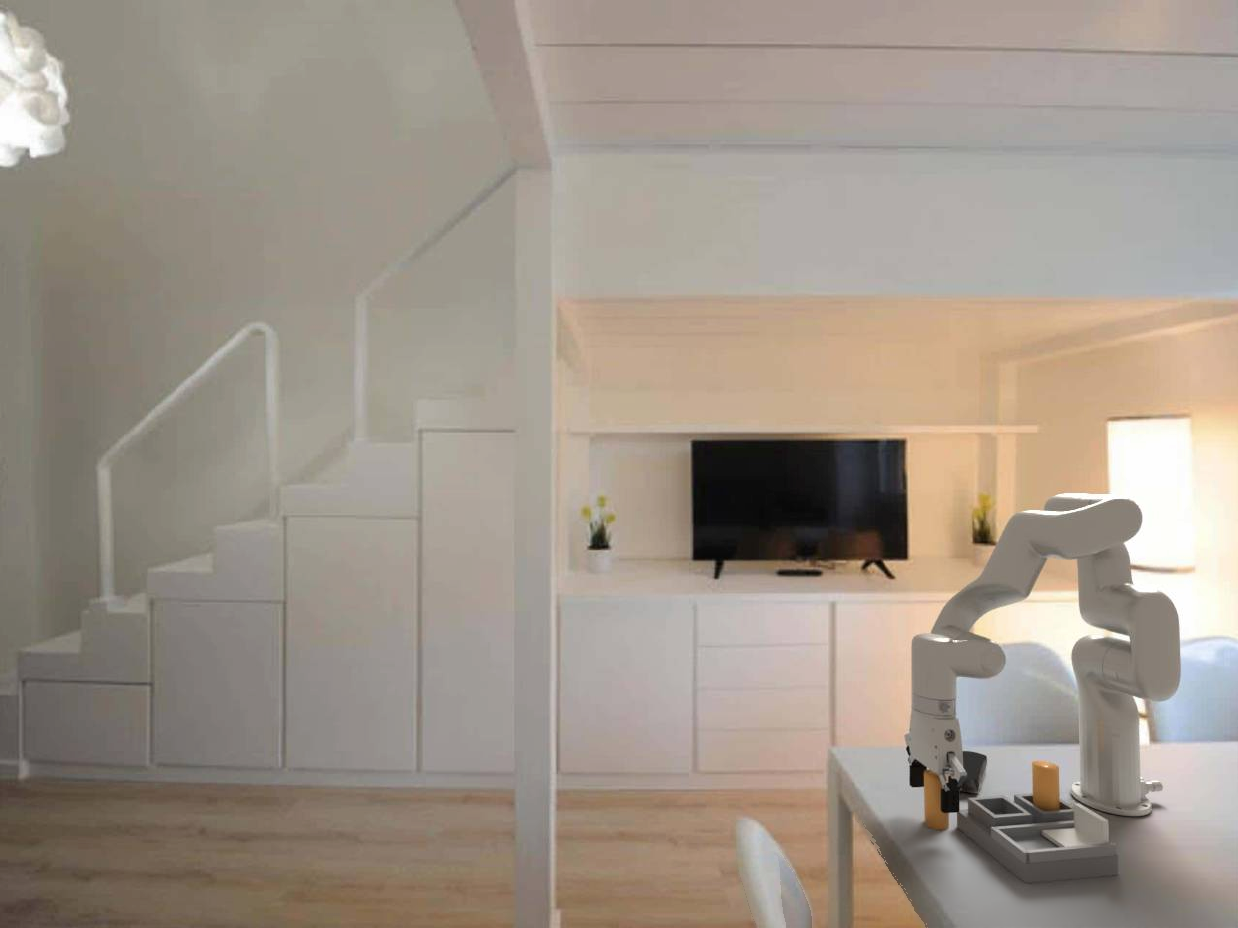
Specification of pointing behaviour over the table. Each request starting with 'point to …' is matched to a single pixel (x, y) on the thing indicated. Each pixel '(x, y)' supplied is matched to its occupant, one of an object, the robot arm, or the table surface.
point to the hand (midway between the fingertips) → (933, 798)
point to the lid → (1081, 829)
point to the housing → (1034, 832)
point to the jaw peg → (934, 802)
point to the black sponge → (972, 770)
